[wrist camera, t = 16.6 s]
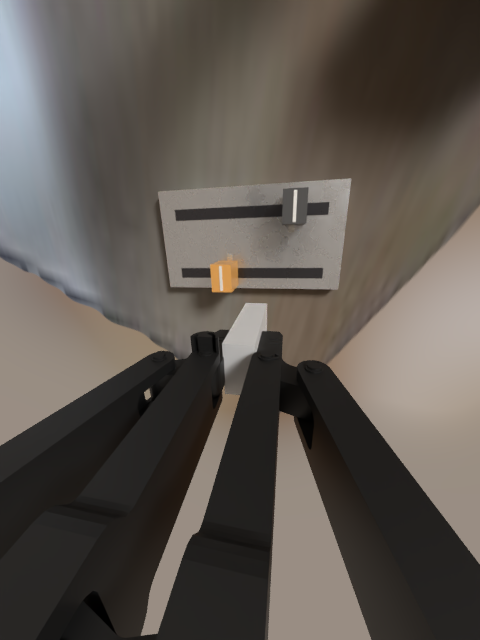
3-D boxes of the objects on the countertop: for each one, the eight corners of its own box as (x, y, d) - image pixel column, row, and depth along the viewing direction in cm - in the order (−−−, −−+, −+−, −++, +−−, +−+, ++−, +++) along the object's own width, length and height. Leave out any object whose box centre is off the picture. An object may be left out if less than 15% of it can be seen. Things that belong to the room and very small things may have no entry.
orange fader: (219, 260, 38) (209, 264, 33) (237, 260, 37) (230, 264, 33) (220, 285, 39) (211, 292, 35) (238, 285, 39) (231, 292, 34)
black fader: (283, 194, 33) (283, 188, 28) (305, 193, 33) (308, 186, 28) (282, 225, 34) (281, 224, 30) (303, 224, 34) (306, 223, 29)
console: (164, 193, 38) (157, 191, 36) (347, 181, 33) (351, 178, 31) (175, 284, 43) (170, 287, 41) (335, 286, 38) (338, 289, 36)
